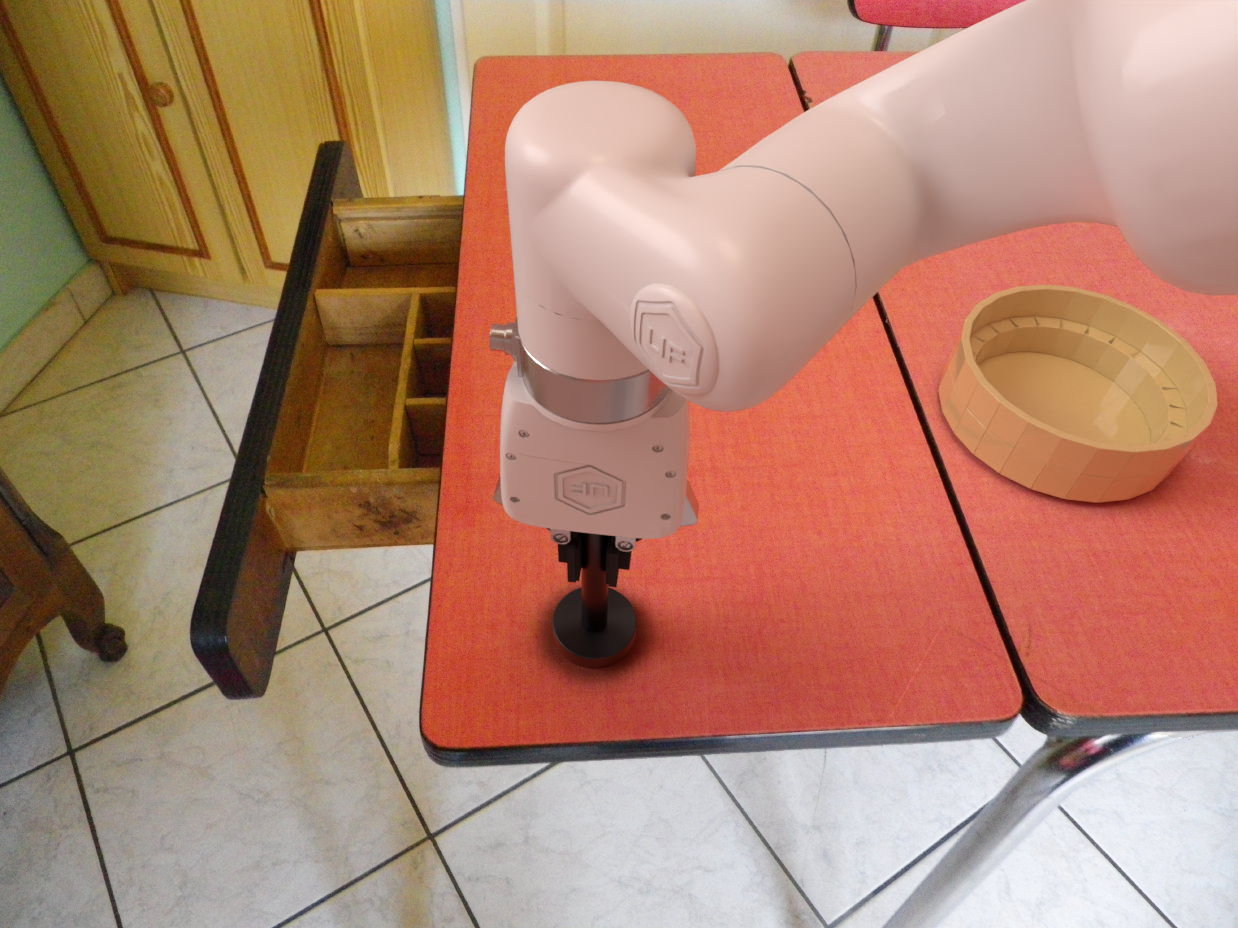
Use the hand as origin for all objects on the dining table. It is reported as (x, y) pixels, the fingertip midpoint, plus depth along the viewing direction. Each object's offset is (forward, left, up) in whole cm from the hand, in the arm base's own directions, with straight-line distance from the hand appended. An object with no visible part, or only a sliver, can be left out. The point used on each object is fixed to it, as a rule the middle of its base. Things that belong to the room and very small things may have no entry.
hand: (595, 564), depth 55 cm
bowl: (-20, -42, -9) cm, 48 cm away
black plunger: (0, 0, -9) cm, 9 cm away
